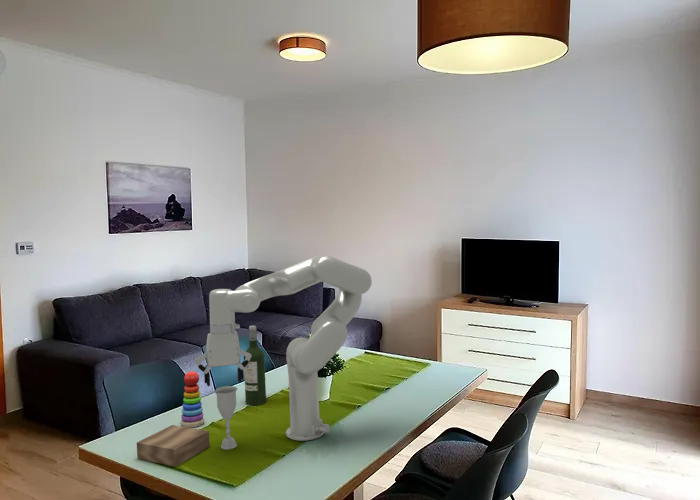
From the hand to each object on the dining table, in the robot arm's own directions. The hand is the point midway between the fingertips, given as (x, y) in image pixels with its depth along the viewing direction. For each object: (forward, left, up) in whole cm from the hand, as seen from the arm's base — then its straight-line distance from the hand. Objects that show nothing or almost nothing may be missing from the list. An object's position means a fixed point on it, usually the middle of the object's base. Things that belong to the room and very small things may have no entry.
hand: (224, 383), depth 171 cm
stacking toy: (+24, -11, -20) cm, 33 cm away
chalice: (0, 0, -20) cm, 20 cm away
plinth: (+13, +10, -20) cm, 26 cm away
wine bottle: (+16, -38, -20) cm, 46 cm away
